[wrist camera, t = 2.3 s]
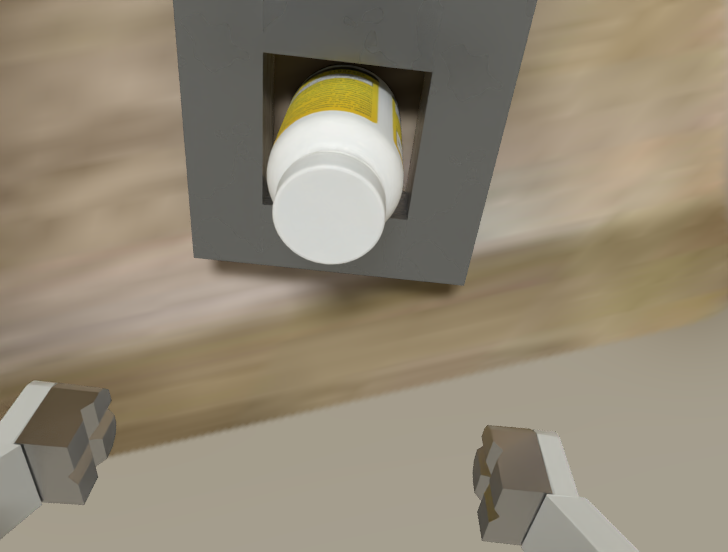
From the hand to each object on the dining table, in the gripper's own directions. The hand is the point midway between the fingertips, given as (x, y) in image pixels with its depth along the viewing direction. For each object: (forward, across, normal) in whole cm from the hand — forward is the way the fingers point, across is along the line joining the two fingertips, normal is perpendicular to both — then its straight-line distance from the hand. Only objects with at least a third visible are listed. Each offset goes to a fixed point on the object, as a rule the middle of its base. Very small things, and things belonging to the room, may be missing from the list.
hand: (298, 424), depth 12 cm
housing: (+19, 0, 0) cm, 19 cm away
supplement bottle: (+19, 0, 0) cm, 19 cm away
